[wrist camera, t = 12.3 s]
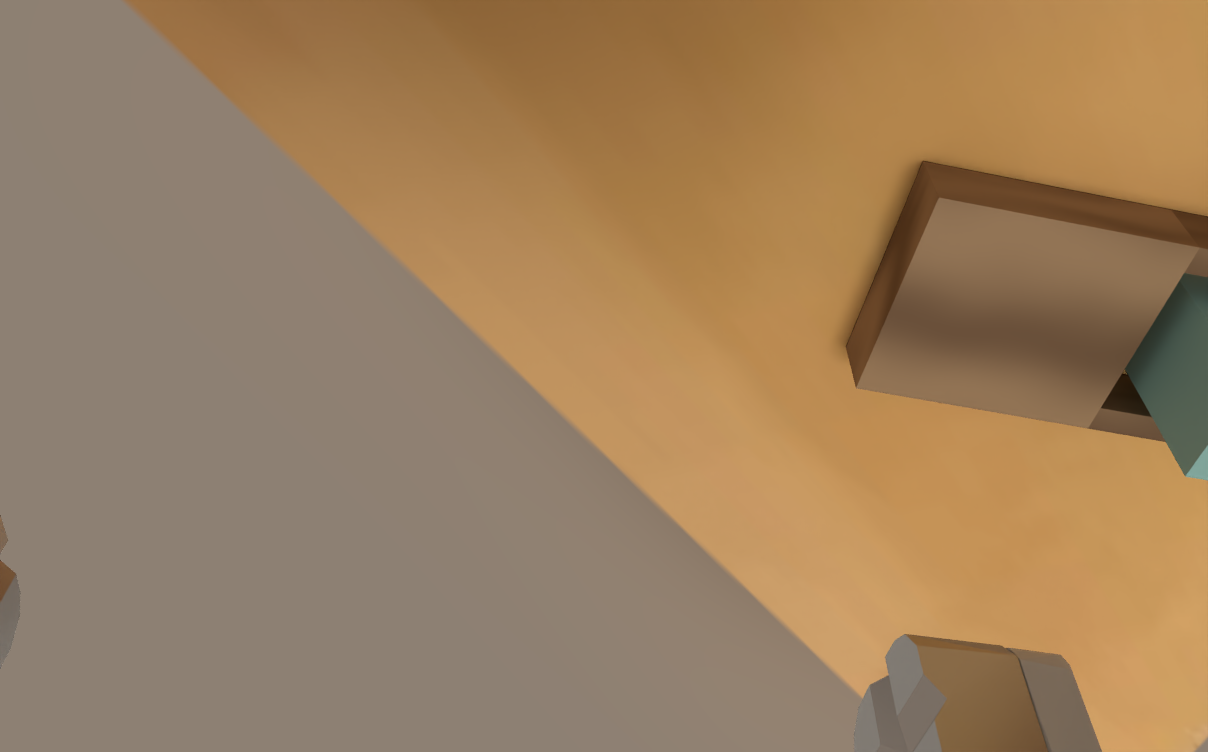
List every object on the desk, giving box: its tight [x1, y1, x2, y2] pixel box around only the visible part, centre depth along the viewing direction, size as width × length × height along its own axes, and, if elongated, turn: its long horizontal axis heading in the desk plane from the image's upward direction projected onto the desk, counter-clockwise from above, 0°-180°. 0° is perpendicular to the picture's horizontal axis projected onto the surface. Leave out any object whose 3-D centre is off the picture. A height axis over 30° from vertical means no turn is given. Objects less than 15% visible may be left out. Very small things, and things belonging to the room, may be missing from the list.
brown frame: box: [846, 161, 1208, 442], centre depth 40 cm, size 8×18×2 cm, turn 79°
